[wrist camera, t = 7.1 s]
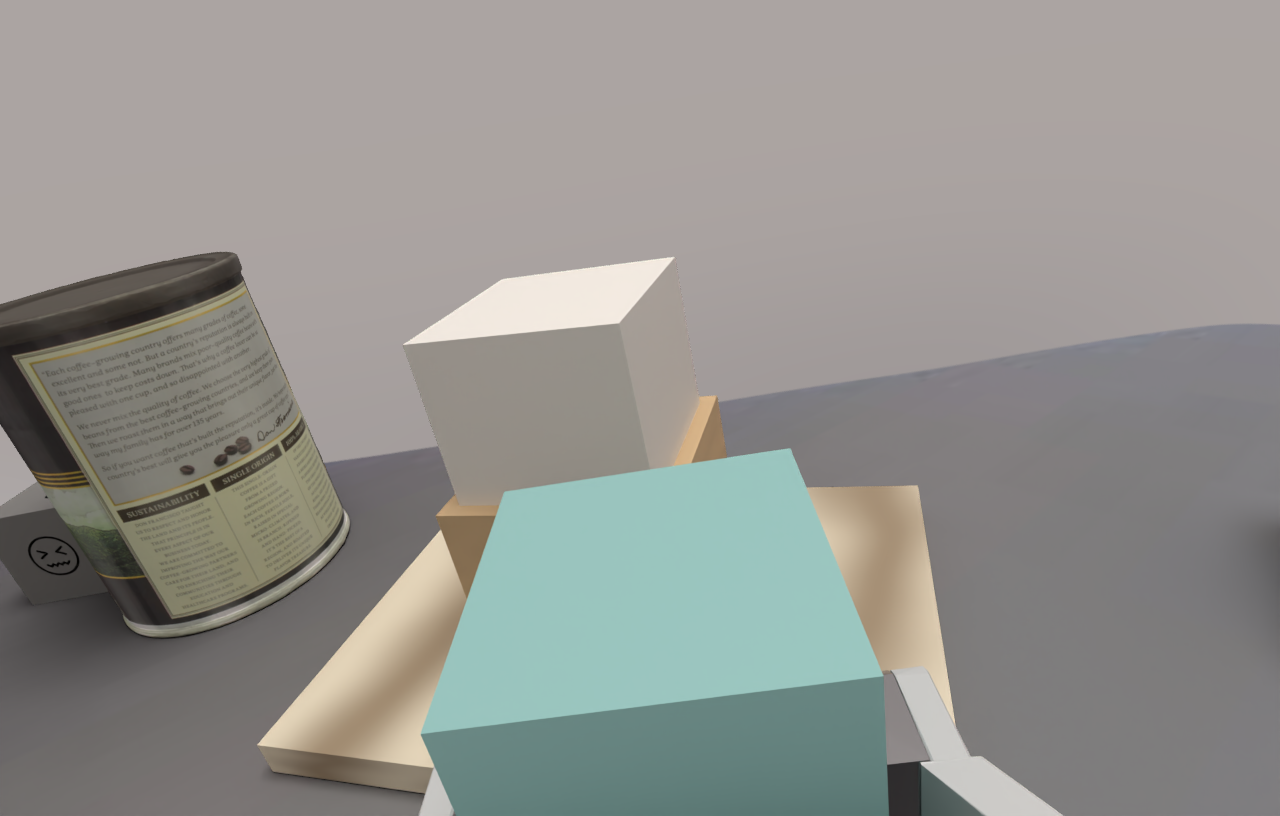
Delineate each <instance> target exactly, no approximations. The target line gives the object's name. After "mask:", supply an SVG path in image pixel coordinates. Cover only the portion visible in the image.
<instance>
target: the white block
mask: <svg viewBox="0 0 1280 816" xmlns="http://www.w3.org/2000/svg"><path fill="white" fill-rule="evenodd" d="M403 347H404V350H405V353H406V356H407V359H408V361H409V364H410V367H411V370H412V372H413V376H414V378H415V381H416V384H417V387H418V390H419V393H420V396H421V398H422V401H423V404H424V407H425V410H426V413H427V415H428V418H429V421H430V424H431V427H432V429H433V432H434V435H435V438H436V441H437V444H438V447H439V449H440V452H441V455H442V458H443V461H444V464H445V466H446V469H447V472H448V475H449V478H450V481H451V483H452V486H453V489H454V492H455V495H456V498H457V500H458V503H459V506H487V505H500V503H501V500H502V497H503V494H504V492H505V491H512V490H519V489H525V488H532V487H538V486H545V485H552V484H558V483H565V482H571V481H578V480H584V479H591V478H598V477H604V476H611V475H617V474H624V473H631V472H637V471H644V470H650V469H657V468H663V467H670V466H674V463H675V461H676V458H677V456H678V454H679V451H680V449H681V447H682V444H683V442H684V440H685V437H686V435H687V433H688V430H689V428H690V425H691V423H692V421H693V418H694V416H695V414H696V411H697V409H698V407H699V404H700V400H699V394H698V388H697V382H696V377H695V370H694V365H693V359H692V353H691V347H690V342H689V335H688V330H687V323H686V318H685V312H684V306H683V301H682V294H681V288H680V282H679V277H678V271H677V265H676V259H675V257H670V258H663V259H654V260H647V261H639V262H632V263H624V264H616V265H609V266H600V267H593V268H585V269H577V270H570V271H562V272H554V273H547V274H539V275H531V276H523V277H516V278H508V279H502V280H500V281H499V282H497V283H496V284H494V285H493V286H491V287H490V288H488V289H487V290H485V291H484V292H483V293H481V294H479V295H478V296H476V297H475V298H473V299H472V300H470V301H469V302H467V303H466V304H464V305H462V306H461V307H459V308H458V309H457V310H455V311H453V312H452V313H451V314H449V315H447V316H446V317H444V318H443V319H441V320H440V321H439V322H437V323H435V324H434V325H432V326H431V327H429V328H428V329H426V330H425V331H423V332H422V333H420V334H418V335H417V336H416V337H414V338H412V339H411V340H409V341H408V342H407V343H405V344H404V345H403Z"/></svg>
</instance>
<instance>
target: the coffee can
mask: <svg viewBox="0 0 1280 816" xmlns="http://www.w3.org/2000/svg"><path fill="white" fill-rule="evenodd" d="M241 270H242V266H241V264H240V261H239V259H238V256H237V255H236V254H235V253H231V252H215V253H207V254H200V255H194V256H189V257H183V258H178V259H173V260H170V261H162V262H158V263H154V264H149V265H145V266H141V267H137V268H132V269H128V270H124V271H119V272H116V273H112V274H108V275H104V276H99V277H95V278H91V279H88V280H84V281H80V282H77V283H73V284H70V285H67V286H62V287H58V288H55V289H51V290H47V291H44V292H41V293H37V294H34V295H30V296H27V297H24V298H21V299H18V300H14V301H10V302H7V303H4V304H0V424H1V426H2V427H3V429H4V431H5V432H6V433H7V435H8V437H9V438H10V440H11V441H12V443H13V444H14V446H15V448H16V449H17V451H18V452H19V454H20V455H21V457H22V458H23V460H24V461H25V463H26V464H27V466H28V468H29V469H30V471H31V472H32V474H33V475H34V477H35V478H36V480H37V481H38V483H39V484H40V486H41V487H42V489H43V491H44V492H45V494H46V495H47V497H48V498H49V500H50V501H51V503H52V504H53V506H54V508H55V509H56V511H57V512H58V514H59V515H60V517H61V518H62V520H63V521H64V523H65V524H66V526H67V528H68V529H69V531H70V532H71V534H72V535H73V537H74V539H75V540H76V542H77V543H78V545H79V547H80V548H81V550H82V551H83V553H84V554H85V556H86V557H87V559H88V560H89V562H90V563H91V565H92V567H93V568H94V570H95V571H96V573H97V574H98V576H99V577H100V579H101V580H102V582H103V583H104V585H105V586H106V588H107V589H108V592H109V593H110V594H111V596H112V597H113V599H114V601H115V602H116V604H117V605H118V607H119V608H120V610H121V612H122V613H123V618H124V620H125V622H126V624H127V626H128V627H129V628H130V629H131V630H133V631H134V632H136V633H138V634H141V635H144V636H148V637H161V638H165V637H178V636H185V635H190V634H196V633H199V632H203V631H206V630H210V629H214V628H217V627H220V626H223V625H226V624H229V623H231V622H233V621H236V620H239V619H241V618H243V617H245V616H247V615H250V614H252V613H254V612H256V611H258V610H260V609H262V608H264V607H266V606H268V605H270V604H272V603H273V602H275V601H277V600H279V599H281V598H283V597H284V596H286V595H287V594H289V593H290V592H292V591H293V590H294V589H296V588H297V587H299V586H300V585H302V584H303V583H305V582H306V581H308V580H309V579H310V578H312V577H313V576H314V575H315V574H316V573H317V572H319V571H320V570H321V569H322V568H323V567H324V566H325V565H326V564H327V563H328V562H329V561H330V560H331V559H332V557H333V556H334V555H335V554H336V553H337V552H338V550H339V549H340V547H341V546H342V545H343V543H344V542H345V539H346V536H347V533H348V531H349V526H350V520H349V516H348V514H347V513H346V511H345V510H344V508H343V506H342V504H341V502H340V499H339V497H338V495H337V493H336V490H335V488H334V486H333V484H332V481H331V479H330V476H329V474H328V472H327V469H326V467H325V465H324V463H323V460H322V457H321V455H320V453H319V451H318V449H317V447H316V445H315V442H314V440H313V438H312V435H311V433H310V430H309V428H308V425H307V423H306V421H305V419H304V416H303V414H302V412H301V410H300V408H299V406H298V404H297V401H296V399H295V397H294V395H293V392H292V389H291V387H290V385H289V382H288V380H287V378H286V375H285V373H284V370H283V369H282V366H281V364H280V361H279V359H278V357H277V354H276V352H275V350H274V347H273V345H272V343H271V341H270V338H269V336H268V333H267V331H266V329H265V327H264V325H263V322H262V320H261V318H260V316H259V313H258V311H257V309H256V307H255V305H254V302H253V300H252V298H251V296H250V293H249V291H248V289H247V286H246V284H245V281H244V279H243V276H242V275H241Z"/></svg>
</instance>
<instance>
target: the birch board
mask: <svg viewBox="0 0 1280 816" xmlns="http://www.w3.org/2000/svg"><path fill="white" fill-rule="evenodd" d="M807 491H808V493H809V496H810V498H811V500H812V503H813V505H814V508H815V510H816V513H817V515H818V518H819V520H820V522H821V525H822V527H823V530H824V532H825V535H826V537H827V539H828V542H829V544H830V547H831V549H832V552H833V554H834V557H835V559H836V561H837V564H838V566H839V569H840V571H841V574H842V576H843V578H844V581H845V583H846V586H847V588H848V591H849V593H850V596H851V598H852V600H853V603H854V605H855V608H856V610H857V613H858V615H859V617H860V620H861V622H862V625H863V627H864V630H865V632H866V635H867V637H868V639H869V642H870V644H871V647H872V649H873V652H874V654H875V656H876V659H877V661H878V664H879V666H880V669H881V671H885V670H888V671H890V670H895V669H903V668H911V667H918V666H923V667H924V668H926V669H927V670H928V672H929V674H930V676H931V678H932V680H933V682H934V684H935V686H936V688H937V690H938V692H939V694H940V696H941V698H942V700H943V702H944V704H945V706H946V708H947V710H948V712H949V714H950V716H951V718H952V720H953V722H954V724H955V719H954V713H953V706H952V700H951V694H950V687H949V681H948V675H947V668H946V662H945V656H944V649H943V643H942V636H941V630H940V624H939V617H938V611H937V605H936V598H935V592H934V586H933V579H932V573H931V566H930V560H929V554H928V547H927V541H926V535H925V528H924V522H923V516H922V509H921V503H920V497H919V490H918V486H870V487H814V488H807ZM466 601H467V598H466V596H465V593H464V590H463V588H462V585H461V582H460V580H459V577H458V574H457V572H456V569H455V566H454V563H453V561H452V558H451V555H450V553H449V550H448V547H447V545H446V542H445V539H444V537H443V534H442V531H441V530H440V531H439V532H438V534H437V535H436V536H435V537H434V538H433V539H432V541H431V542H430V543H429V544H428V545H427V546H426V548H425V549H424V550H423V551H422V552H421V553H420V555H419V556H418V557H417V558H416V559H415V561H414V562H413V563H412V564H411V565H410V566H409V568H408V569H407V570H406V571H405V572H404V573H403V575H402V576H401V577H400V578H399V579H398V580H397V582H396V583H395V584H394V585H393V586H392V587H391V589H390V590H389V591H388V592H387V593H386V595H385V596H384V597H383V598H382V599H381V600H380V602H379V603H378V604H377V605H376V606H375V607H374V609H373V610H372V611H371V612H370V613H369V614H368V616H367V617H366V618H365V619H364V620H363V621H362V623H361V624H360V625H359V626H358V627H357V629H356V630H355V631H354V632H353V633H352V634H351V636H350V637H349V638H348V639H347V640H346V641H345V643H344V644H343V645H342V646H341V647H340V648H339V650H338V651H337V652H336V653H335V654H334V656H333V657H332V658H331V659H330V660H329V661H328V663H327V664H326V665H325V666H324V667H323V668H322V670H321V671H320V672H319V673H318V674H317V675H316V677H315V678H314V679H313V680H312V681H311V682H310V684H309V685H308V686H307V687H306V688H305V690H304V691H303V692H302V693H301V694H300V695H299V697H298V698H297V699H296V700H295V701H294V702H293V704H292V705H291V706H290V707H289V708H288V709H287V711H286V712H285V713H284V714H283V715H282V716H281V718H280V719H279V720H278V721H277V722H276V724H275V725H274V726H273V727H272V728H271V729H270V731H269V732H268V733H267V734H266V735H265V736H264V738H263V739H262V740H261V741H260V742H259V743H258V745H257V746H258V747H259V749H260V751H261V752H262V754H263V756H264V757H265V759H266V761H267V762H268V764H269V766H270V768H271V769H272V771H273V772H279V773H286V774H293V775H300V776H307V777H314V778H321V779H328V780H335V781H342V782H348V783H355V784H362V785H369V786H376V787H383V788H390V789H397V790H404V791H411V792H418V793H426V790H427V786H428V783H429V780H430V777H431V774H432V771H433V767H434V764H433V762H432V759H431V757H430V755H429V753H428V750H427V748H426V746H425V743H424V741H423V739H422V737H421V731H422V728H423V725H424V722H425V719H426V716H427V714H428V711H429V708H430V705H431V702H432V699H433V696H434V693H435V690H436V688H437V685H438V682H439V679H440V676H441V673H442V670H443V667H444V664H445V662H446V659H447V656H448V653H449V650H450V647H451V644H452V641H453V638H454V636H455V633H456V630H457V627H458V624H459V621H460V618H461V615H462V612H463V610H464V607H465V604H466Z"/></svg>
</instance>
